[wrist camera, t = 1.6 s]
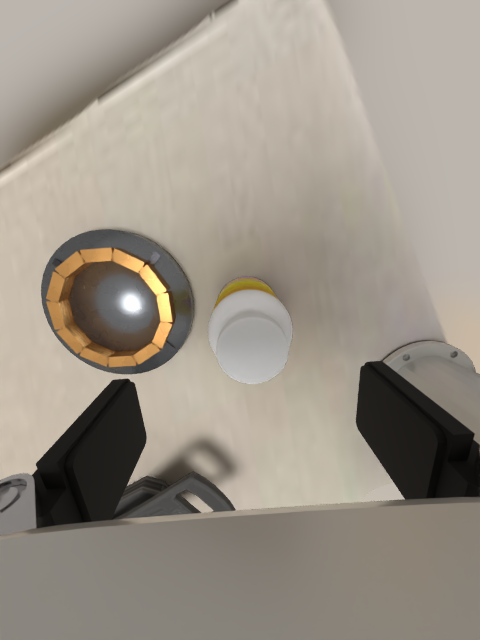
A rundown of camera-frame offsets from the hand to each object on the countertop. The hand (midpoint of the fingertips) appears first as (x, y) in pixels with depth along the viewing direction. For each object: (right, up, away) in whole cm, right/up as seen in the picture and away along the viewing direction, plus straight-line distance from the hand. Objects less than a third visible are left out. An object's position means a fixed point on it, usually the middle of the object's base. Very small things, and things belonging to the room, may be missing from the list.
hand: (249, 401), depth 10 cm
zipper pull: (-13, -22, +26) cm, 36 cm away
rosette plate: (-14, +5, +17) cm, 23 cm away
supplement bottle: (0, +5, +18) cm, 18 cm away
